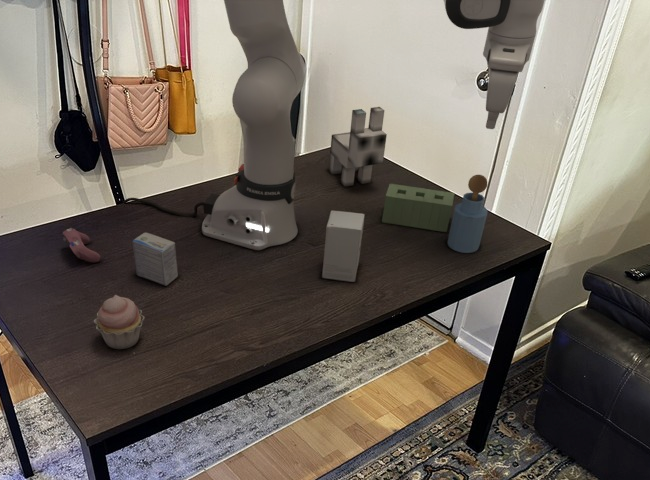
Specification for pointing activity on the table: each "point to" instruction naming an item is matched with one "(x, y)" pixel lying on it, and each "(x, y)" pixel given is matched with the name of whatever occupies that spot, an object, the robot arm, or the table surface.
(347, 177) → the blocky rabbit figurine
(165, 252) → the medicine box
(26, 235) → the table surface
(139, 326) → the cupcake
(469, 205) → the bottle
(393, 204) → the stand
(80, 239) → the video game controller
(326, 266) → the white packaging box
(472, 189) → the spoon
